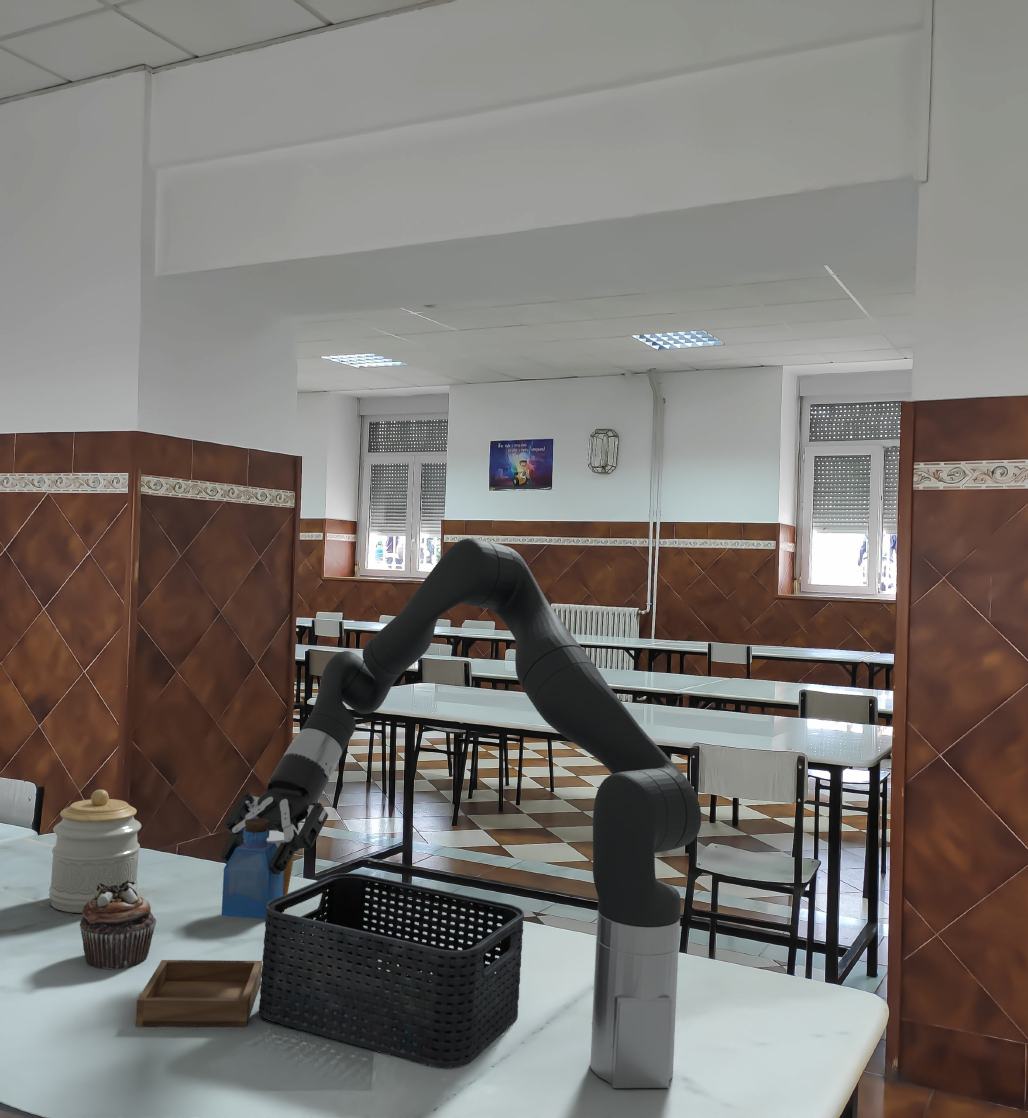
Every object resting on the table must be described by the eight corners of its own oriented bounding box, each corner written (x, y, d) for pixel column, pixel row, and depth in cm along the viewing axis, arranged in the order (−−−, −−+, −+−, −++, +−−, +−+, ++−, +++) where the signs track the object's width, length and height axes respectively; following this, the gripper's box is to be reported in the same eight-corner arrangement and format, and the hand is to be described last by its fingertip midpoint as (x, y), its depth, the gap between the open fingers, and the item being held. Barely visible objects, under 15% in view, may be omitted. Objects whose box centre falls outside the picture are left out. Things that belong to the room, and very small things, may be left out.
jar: (54, 891, 164) (61, 782, 165) (139, 887, 168) (145, 781, 169) (42, 917, 152) (50, 799, 153) (134, 913, 156) (141, 798, 156)
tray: (246, 1026, 119) (247, 1001, 119) (135, 1026, 117) (136, 1000, 117) (260, 984, 131) (262, 961, 131) (160, 983, 130) (161, 960, 130)
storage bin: (527, 1012, 127) (533, 905, 128) (459, 1077, 110) (466, 953, 110) (335, 967, 139) (341, 869, 139) (245, 1020, 121) (252, 907, 121)
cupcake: (91, 977, 131) (96, 899, 131) (69, 954, 138) (74, 880, 138) (164, 962, 137) (169, 888, 137) (139, 941, 144) (144, 870, 145)
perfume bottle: (282, 905, 139) (286, 817, 140) (266, 919, 133) (270, 827, 134) (239, 901, 140) (243, 814, 141) (221, 915, 134) (226, 824, 134)
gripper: (256, 746, 147) (195, 843, 136) (337, 757, 141) (280, 859, 130) (277, 778, 152) (220, 873, 141) (357, 789, 146) (303, 890, 135)
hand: (249, 866), depth 136 cm, fingers closed on perfume bottle, 7 cm apart
